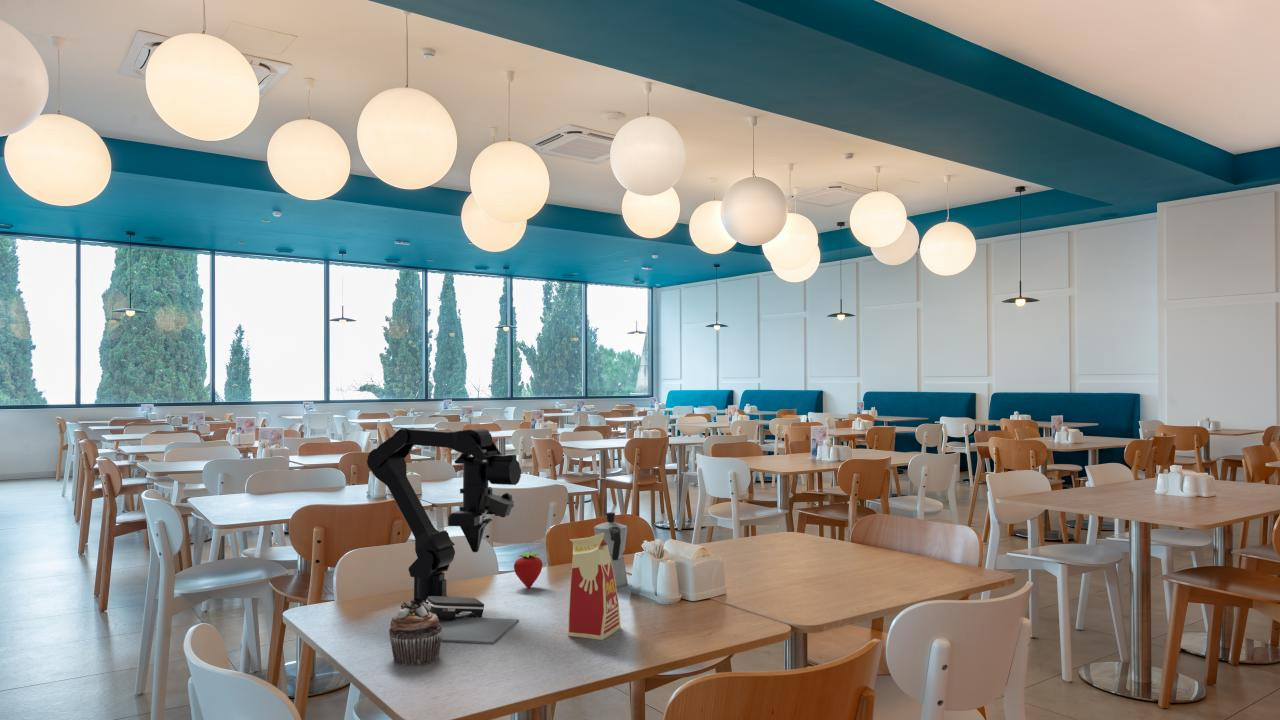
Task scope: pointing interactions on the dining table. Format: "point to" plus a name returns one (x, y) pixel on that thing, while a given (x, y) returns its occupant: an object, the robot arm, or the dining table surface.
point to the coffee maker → (615, 546)
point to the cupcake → (415, 635)
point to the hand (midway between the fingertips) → (475, 552)
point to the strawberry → (528, 568)
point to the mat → (475, 629)
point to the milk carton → (592, 590)
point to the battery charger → (454, 606)
